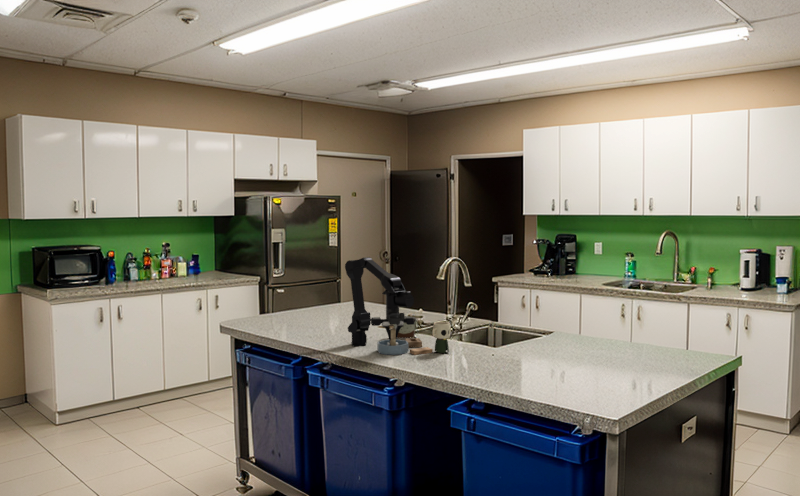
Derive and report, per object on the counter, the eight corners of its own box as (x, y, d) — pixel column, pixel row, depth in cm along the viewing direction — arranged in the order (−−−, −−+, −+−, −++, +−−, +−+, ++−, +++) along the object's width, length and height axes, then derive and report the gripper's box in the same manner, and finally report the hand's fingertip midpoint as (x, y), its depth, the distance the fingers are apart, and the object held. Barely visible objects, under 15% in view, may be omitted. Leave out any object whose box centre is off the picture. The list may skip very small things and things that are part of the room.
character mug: (438, 355, 260) (438, 325, 260) (427, 353, 266) (427, 323, 265) (456, 351, 268) (456, 322, 267) (444, 349, 273) (444, 320, 272)
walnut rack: (407, 347, 277) (407, 342, 277) (405, 343, 285) (405, 338, 284) (421, 347, 278) (421, 341, 277) (419, 343, 285) (419, 338, 285)
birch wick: (391, 350, 266) (391, 329, 266) (389, 347, 270) (389, 327, 270) (395, 349, 266) (395, 329, 266) (394, 347, 271) (394, 327, 270)
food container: (417, 336, 303) (417, 316, 303) (417, 338, 297) (416, 318, 297) (393, 335, 304) (393, 315, 304) (391, 338, 298) (391, 317, 298)
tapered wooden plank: (414, 355, 262) (414, 351, 262) (409, 353, 266) (409, 349, 266) (432, 353, 267) (432, 349, 266) (427, 351, 270) (427, 347, 270)
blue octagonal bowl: (379, 355, 261) (379, 346, 261) (376, 348, 274) (376, 340, 274) (409, 354, 263) (409, 345, 263) (405, 347, 276) (405, 339, 276)
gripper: (373, 308, 258) (373, 344, 259) (416, 307, 261) (416, 343, 262) (370, 304, 269) (371, 339, 270) (412, 303, 272) (412, 338, 273)
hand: (392, 340), depth 268 cm, fingers closed on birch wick, 2 cm apart
